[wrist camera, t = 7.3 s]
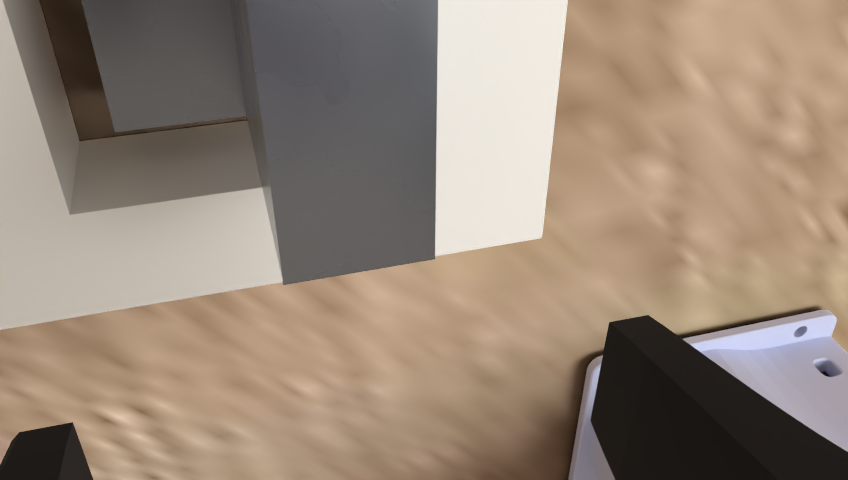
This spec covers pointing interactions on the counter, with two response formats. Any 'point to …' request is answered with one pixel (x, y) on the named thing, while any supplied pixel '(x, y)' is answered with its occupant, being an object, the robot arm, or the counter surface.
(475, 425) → the counter surface
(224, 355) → the counter surface
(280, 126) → the stepped metal block
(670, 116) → the counter surface
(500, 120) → the white rectangular frame
